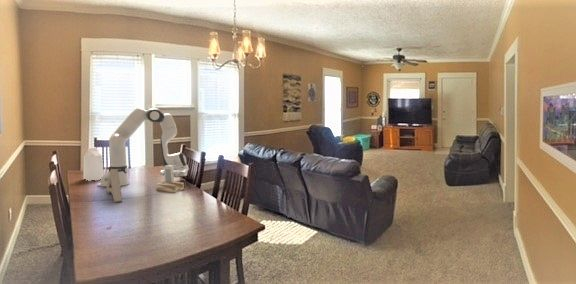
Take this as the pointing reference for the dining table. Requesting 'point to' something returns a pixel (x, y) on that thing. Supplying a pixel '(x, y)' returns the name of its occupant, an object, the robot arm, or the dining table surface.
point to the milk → (93, 165)
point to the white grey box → (169, 173)
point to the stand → (170, 186)
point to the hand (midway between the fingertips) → (168, 174)
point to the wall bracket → (114, 185)
